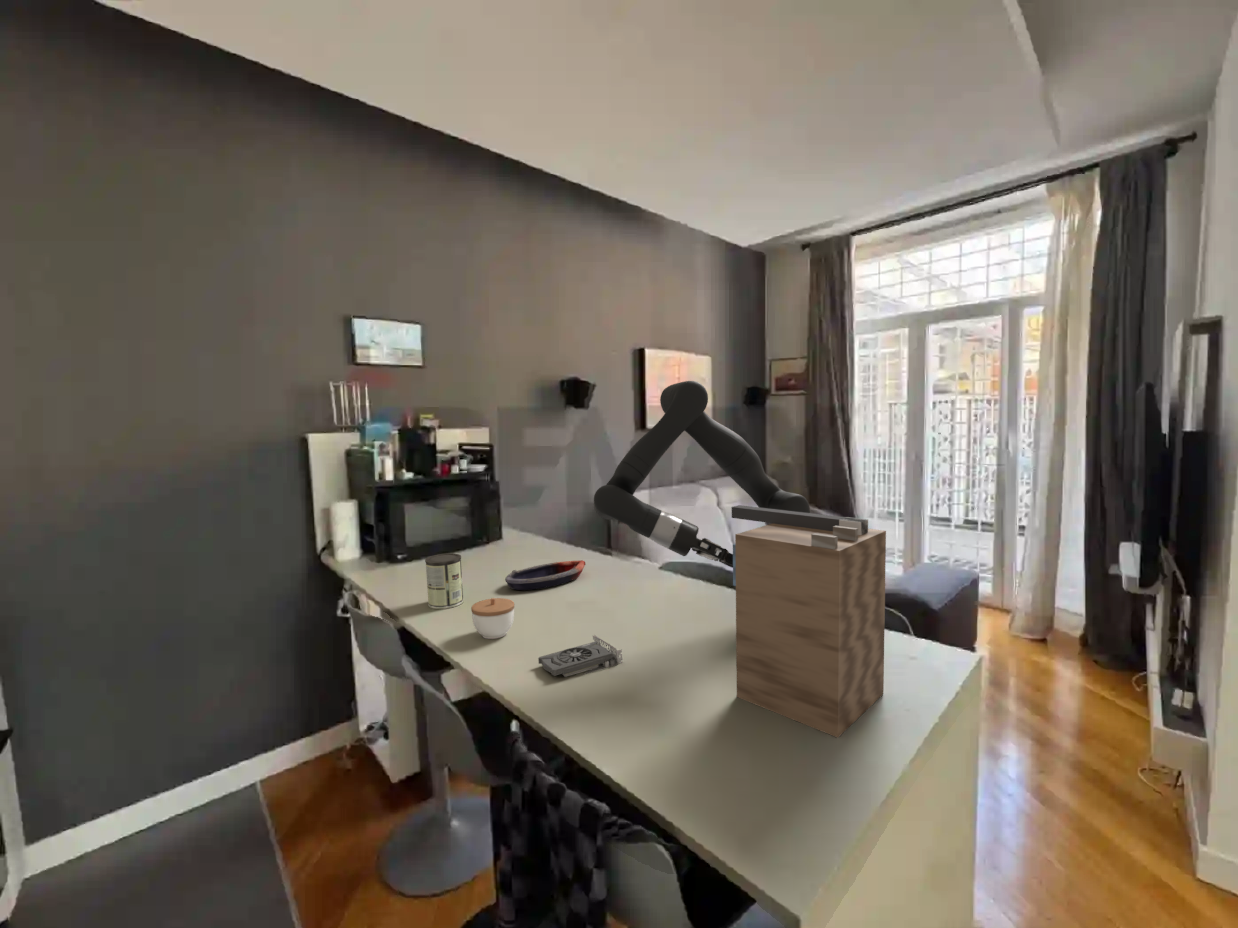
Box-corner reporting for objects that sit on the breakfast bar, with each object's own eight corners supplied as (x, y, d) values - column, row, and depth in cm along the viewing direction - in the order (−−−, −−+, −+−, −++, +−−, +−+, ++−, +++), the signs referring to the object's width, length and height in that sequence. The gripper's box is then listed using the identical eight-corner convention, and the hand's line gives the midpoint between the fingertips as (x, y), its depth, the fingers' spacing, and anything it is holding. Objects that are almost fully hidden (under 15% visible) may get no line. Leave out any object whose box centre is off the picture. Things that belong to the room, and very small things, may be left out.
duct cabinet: (785, 661, 122) (785, 509, 119) (883, 693, 107) (886, 520, 104) (734, 695, 108) (732, 523, 105) (837, 737, 93) (839, 538, 90)
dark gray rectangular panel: (739, 515, 123) (739, 505, 123) (868, 532, 103) (868, 519, 103) (731, 517, 121) (731, 507, 121) (860, 535, 101) (860, 522, 101)
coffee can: (436, 597, 172) (434, 553, 171) (468, 597, 171) (466, 553, 170) (421, 609, 162) (418, 561, 161) (455, 609, 161) (453, 562, 160)
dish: (496, 586, 183) (495, 571, 183) (574, 568, 202) (574, 555, 201) (517, 597, 171) (517, 582, 170) (599, 578, 189) (598, 563, 189)
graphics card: (596, 632, 134) (622, 648, 123) (597, 647, 134) (623, 664, 124) (531, 650, 125) (553, 668, 115) (532, 666, 125) (554, 686, 115)
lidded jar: (491, 646, 134) (489, 608, 134) (464, 636, 141) (462, 600, 140) (524, 631, 143) (522, 596, 142) (496, 623, 149) (495, 589, 149)
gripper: (683, 516, 120) (752, 548, 119) (677, 520, 134) (739, 549, 133) (669, 547, 119) (738, 581, 118) (664, 548, 133) (726, 578, 132)
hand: (738, 564), depth 125 cm, fingers open, 8 cm apart
